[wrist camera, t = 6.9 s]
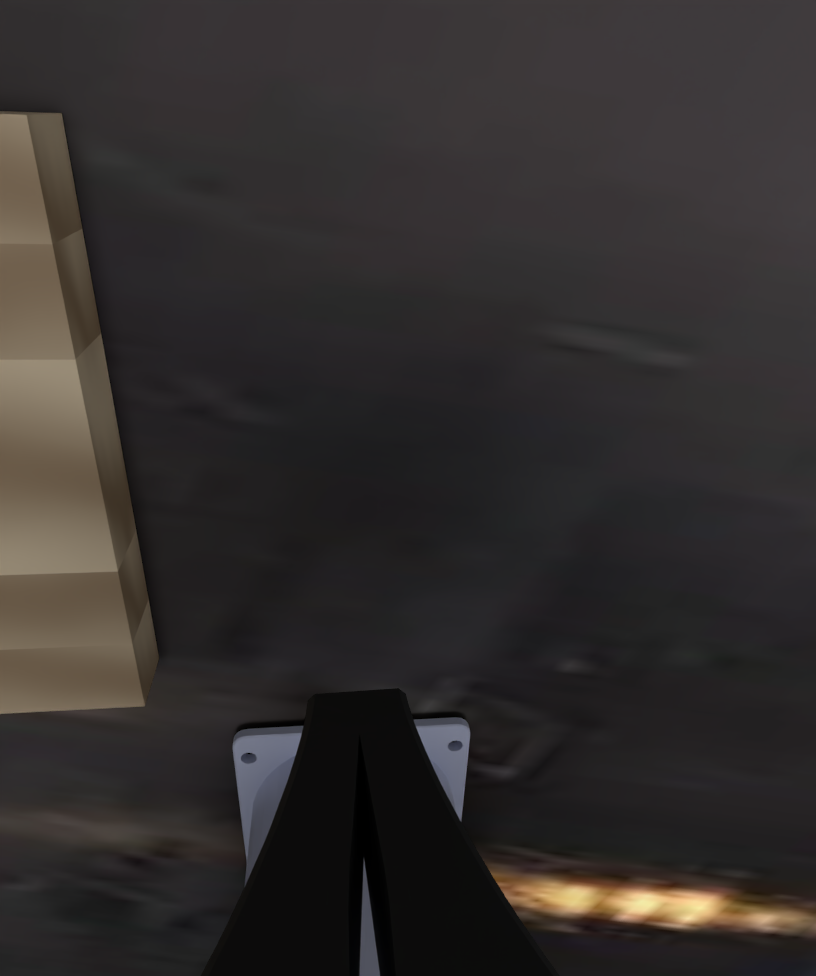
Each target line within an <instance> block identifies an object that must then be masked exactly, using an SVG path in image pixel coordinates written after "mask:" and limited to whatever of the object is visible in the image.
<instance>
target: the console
mask: <svg viewBox="0 0 816 976" xmlns="http://www.w3.org/2000/svg"><path fill="white" fill-rule="evenodd" d="M158 661H159V654H158V649H157V643H156V638H155V632H154V626H153V621H152V615H151V610H150V604H149V599H148V593H147V587H146V582H145V576H144V571H143V565H142V559H141V554H140V548H139V543H138V537H137V531H136V526H135V520H134V515H133V509H132V503H131V498H130V492H129V487H128V481H127V476H126V470H125V464H124V459H123V453H122V448H121V442H120V436H119V431H118V425H117V420H116V414H115V408H114V403H113V397H112V392H111V386H110V380H109V375H108V369H107V364H106V358H105V353H104V347H103V341H102V336H101V330H100V325H99V319H98V313H97V308H96V302H95V297H94V291H93V285H92V280H91V274H90V269H89V263H88V257H87V252H86V246H85V241H84V235H83V230H82V224H81V218H80V213H79V207H78V202H77V196H76V190H75V185H74V179H73V174H72V168H71V162H70V157H69V151H68V146H67V140H66V134H65V129H64V123H63V118H62V113H40V112H10V111H0V714H5V713H24V712H43V711H63V710H82V709H102V708H121V707H141V706H145V704H146V701H147V697H148V694H149V691H150V687H151V684H152V681H153V677H154V674H155V671H156V667H157V664H158Z"/></svg>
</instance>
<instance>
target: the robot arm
mask: <svg viewBox="0 0 816 976" xmlns="http://www.w3.org/2000/svg"><path fill="white" fill-rule="evenodd" d="M452 741H456V742H452ZM469 742H470V729H469V725H468V722H467V721H466V720H465V719H462V718H457V717H452V718H433V719H415V720H413V717H412V714H411V711H410V708H409V705H408V701H407V697H406V694H405V693H404V692H402V691H401V690H400V689H399V688H397V689H383V690H368V691H354V692H339V693H325V694H315V695H314V696H313V697H311V698H310V699H309V700H308V704H307V711H306V717H305V721H304V726H289V727H271V728H253V729H244V730H241V731H239V732H237V733H236V735H235V736H234V740H233V747H232V748H233V756H234V764H235V772H236V780H237V788H238V796H239V805H240V813H241V821H242V829H243V837H244V845H245V853H246V861H247V867H246V877H245V886H244V890H243V892H242V894H241V896H240V899H239V901H238V903H237V905H236V907H235V909H234V911H233V913H232V915H231V918H230V920H229V922H228V924H227V926H226V928H225V930H224V932H223V934H222V936H221V938H220V940H219V942H218V944H217V946H216V948H215V950H214V952H213V954H212V956H211V957H210V959H209V961H208V963H207V965H206V967H205V969H204V971H203V973H202V975H201V976H559V974H558V973H557V972H556V970H555V969H554V967H553V966H552V965H551V963H550V962H549V961H548V959H547V958H546V956H545V955H544V954H543V952H542V951H541V949H540V948H539V946H538V945H537V944H536V942H535V941H534V939H533V938H532V936H531V935H530V933H529V932H528V930H527V929H526V927H525V926H524V925H523V923H522V922H521V920H520V919H519V917H518V916H517V914H516V913H515V911H514V910H513V908H512V907H511V905H510V903H509V902H508V900H507V899H506V897H505V896H504V894H503V892H502V891H501V889H500V888H499V886H498V885H497V883H496V881H495V880H494V878H493V876H492V875H491V873H490V871H489V870H488V868H487V866H486V865H485V863H484V861H483V860H482V858H481V856H480V855H479V853H478V851H477V850H476V848H475V846H474V844H473V843H472V841H471V839H470V837H469V836H468V834H467V832H466V830H465V828H464V827H463V825H462V823H461V819H462V809H463V800H464V790H465V780H466V771H467V761H468V752H469ZM246 753H253V754H246Z"/></svg>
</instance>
